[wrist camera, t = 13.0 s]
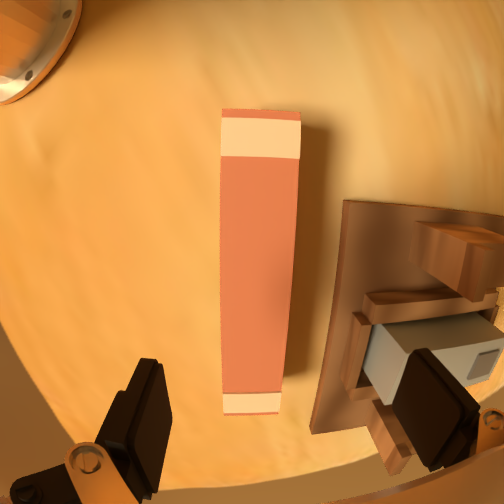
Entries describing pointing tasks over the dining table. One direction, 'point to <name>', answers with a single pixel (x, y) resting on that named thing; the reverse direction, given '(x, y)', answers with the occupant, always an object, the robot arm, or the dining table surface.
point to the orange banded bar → (256, 253)
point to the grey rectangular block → (432, 349)
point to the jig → (399, 301)
